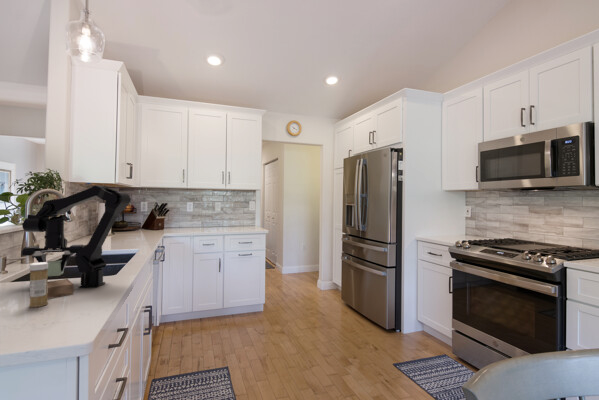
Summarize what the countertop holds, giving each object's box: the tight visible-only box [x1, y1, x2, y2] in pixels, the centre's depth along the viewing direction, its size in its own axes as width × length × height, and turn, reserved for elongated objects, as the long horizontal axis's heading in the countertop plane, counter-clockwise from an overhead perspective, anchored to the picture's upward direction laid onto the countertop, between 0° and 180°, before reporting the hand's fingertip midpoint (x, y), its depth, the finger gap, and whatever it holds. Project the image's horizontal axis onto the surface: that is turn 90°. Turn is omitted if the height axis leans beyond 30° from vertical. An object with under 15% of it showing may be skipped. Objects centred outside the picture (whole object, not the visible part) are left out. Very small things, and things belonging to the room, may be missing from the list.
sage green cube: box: [46, 259, 65, 277], centre depth 121 cm, size 5×5×5 cm
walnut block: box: [47, 278, 74, 300], centre depth 110 cm, size 10×10×4 cm
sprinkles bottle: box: [29, 261, 49, 308], centre depth 98 cm, size 5×5×14 cm
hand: (54, 271), depth 121 cm, fingers closed on sage green cube, 5 cm apart
